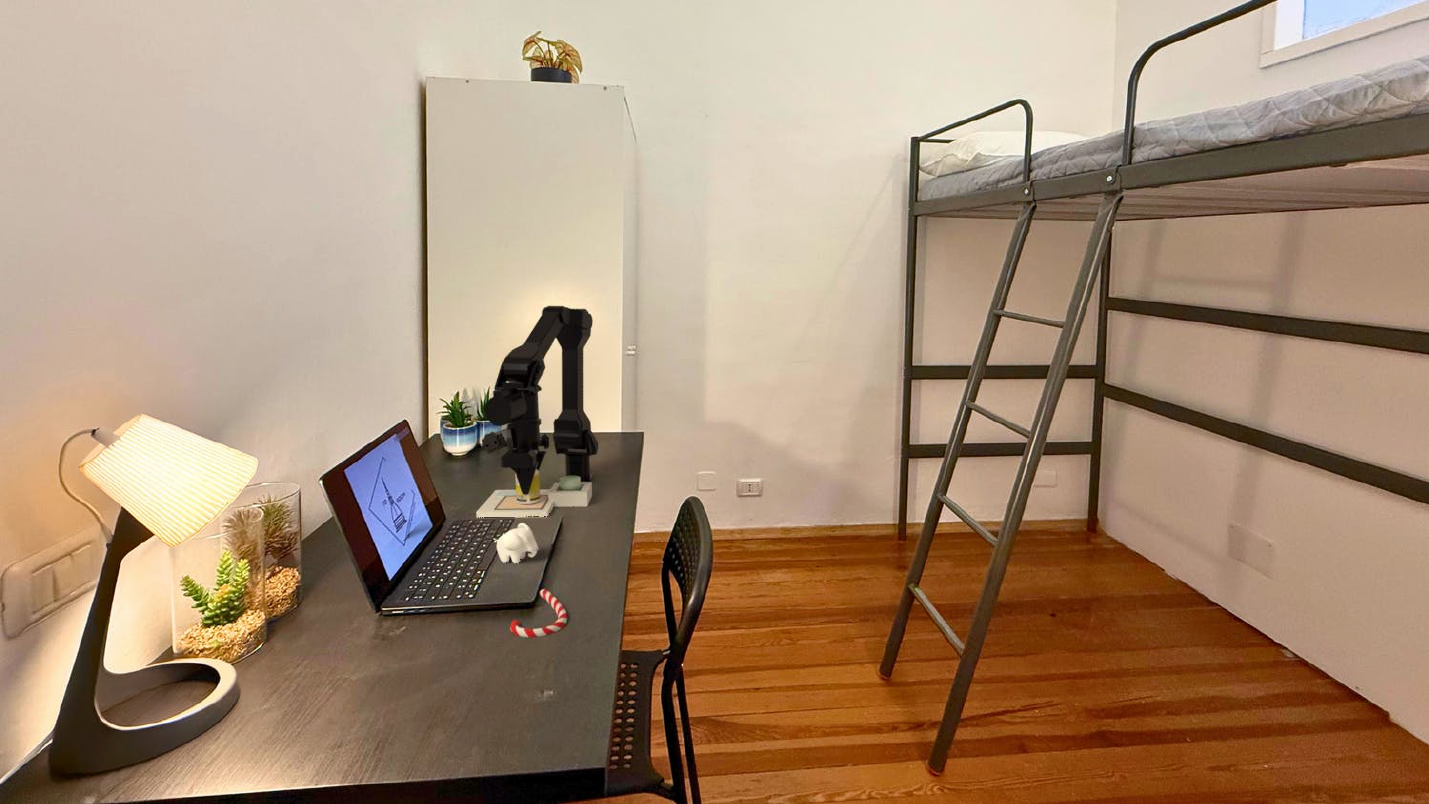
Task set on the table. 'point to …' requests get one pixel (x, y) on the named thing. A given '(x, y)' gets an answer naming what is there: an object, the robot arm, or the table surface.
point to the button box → (570, 496)
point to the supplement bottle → (533, 493)
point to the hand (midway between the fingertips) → (528, 490)
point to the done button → (570, 483)
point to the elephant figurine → (516, 544)
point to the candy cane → (549, 629)
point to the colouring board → (514, 505)
